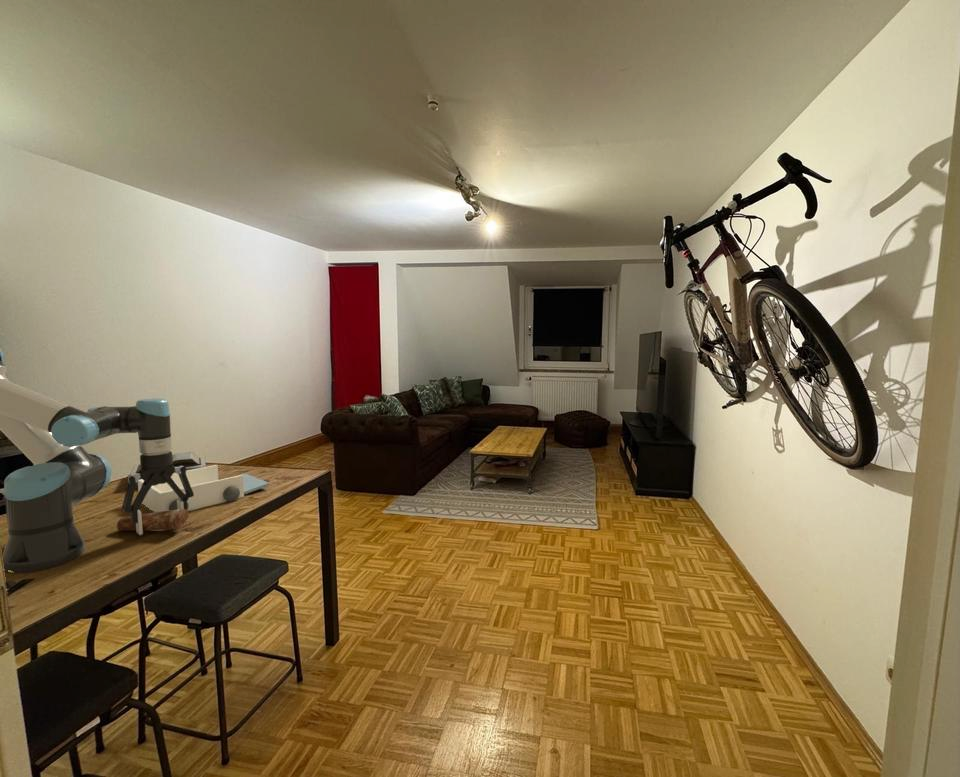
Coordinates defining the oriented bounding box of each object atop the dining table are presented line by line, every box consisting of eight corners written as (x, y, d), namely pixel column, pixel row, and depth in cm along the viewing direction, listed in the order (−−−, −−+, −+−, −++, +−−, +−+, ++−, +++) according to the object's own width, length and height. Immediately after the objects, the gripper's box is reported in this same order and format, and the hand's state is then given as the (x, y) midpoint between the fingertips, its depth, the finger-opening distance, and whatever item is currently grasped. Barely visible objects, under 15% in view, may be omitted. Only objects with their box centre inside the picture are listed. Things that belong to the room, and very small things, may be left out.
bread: (179, 533, 126) (174, 516, 124) (114, 535, 126) (108, 518, 125) (193, 520, 132) (188, 504, 130) (130, 522, 132) (125, 506, 130)
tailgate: (243, 492, 159) (269, 482, 166) (219, 481, 171) (244, 473, 178) (243, 494, 159) (269, 485, 166) (219, 484, 171) (244, 475, 178)
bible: (204, 485, 171) (202, 461, 170) (118, 494, 161) (116, 467, 160) (214, 470, 192) (213, 447, 191) (139, 476, 182) (138, 453, 181)
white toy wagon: (163, 519, 137) (162, 494, 136) (137, 501, 152) (136, 479, 152) (246, 497, 157) (245, 476, 156) (216, 484, 172) (214, 464, 171)
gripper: (110, 462, 115) (116, 544, 118) (204, 447, 133) (208, 518, 135) (102, 457, 120) (108, 536, 122) (194, 443, 137) (198, 512, 140)
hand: (161, 527), depth 129 cm, fingers closed on bread, 10 cm apart
